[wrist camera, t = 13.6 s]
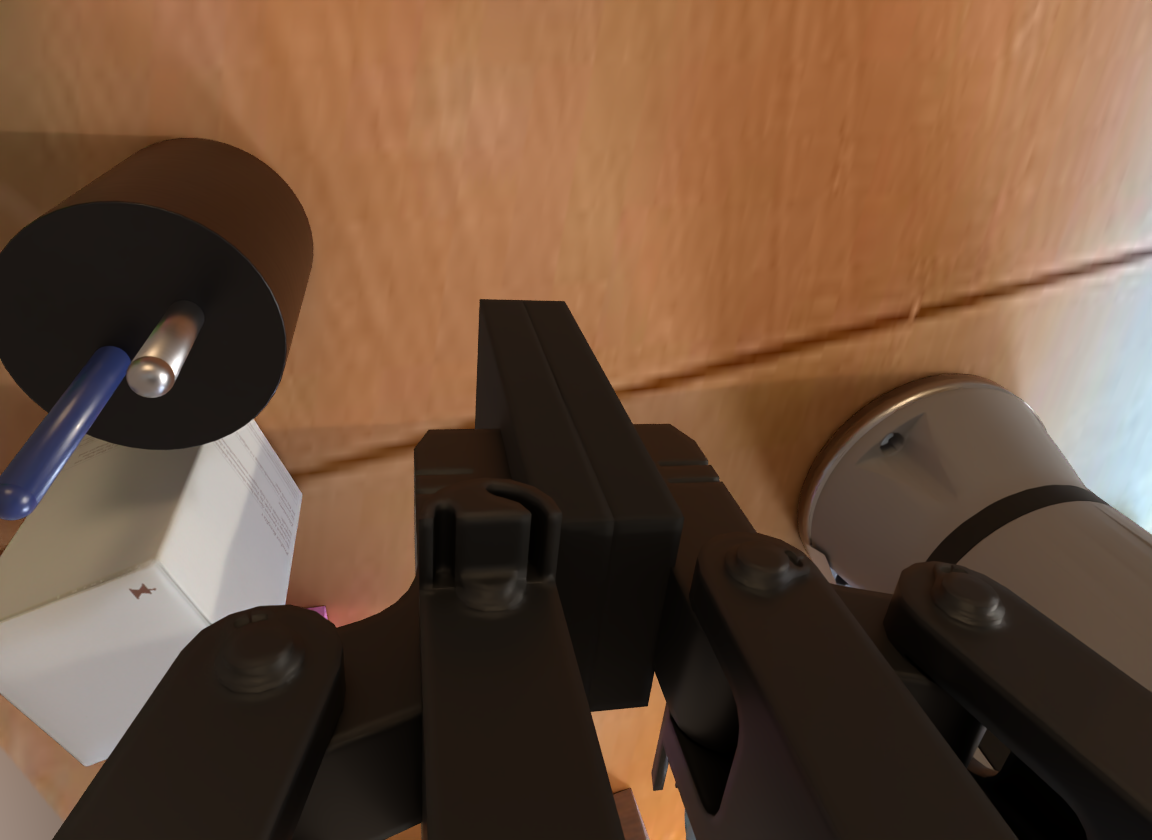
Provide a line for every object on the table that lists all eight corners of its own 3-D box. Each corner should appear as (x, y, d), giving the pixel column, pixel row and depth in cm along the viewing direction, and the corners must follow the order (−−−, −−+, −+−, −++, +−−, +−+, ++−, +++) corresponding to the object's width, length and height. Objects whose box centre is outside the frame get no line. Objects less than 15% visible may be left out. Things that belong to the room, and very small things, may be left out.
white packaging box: (73, 432, 34) (-72, 642, 23) (231, 375, 34) (160, 557, 23) (167, 549, 38) (79, 774, 27) (308, 497, 38) (276, 700, 27)
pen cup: (305, 144, 30) (234, 282, 16) (320, 331, 34) (272, 573, 20) (79, 131, 28) (-224, 275, 14) (121, 330, 32) (-83, 596, 18)
